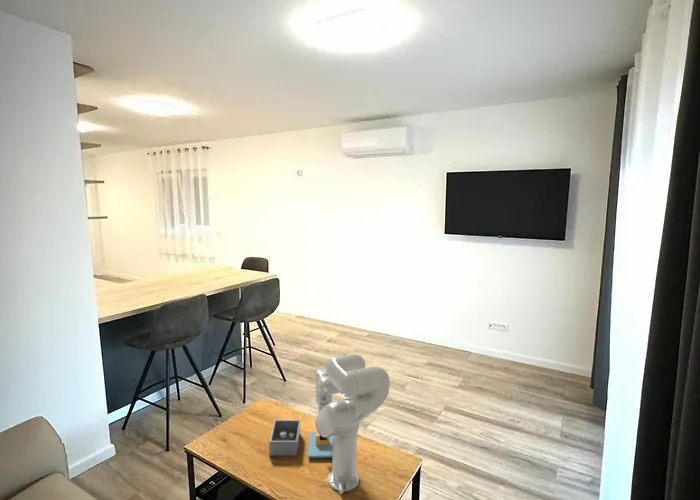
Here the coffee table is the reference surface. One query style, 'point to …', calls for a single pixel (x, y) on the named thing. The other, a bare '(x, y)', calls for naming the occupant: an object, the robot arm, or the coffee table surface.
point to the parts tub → (284, 438)
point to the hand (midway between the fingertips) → (323, 433)
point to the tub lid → (320, 446)
